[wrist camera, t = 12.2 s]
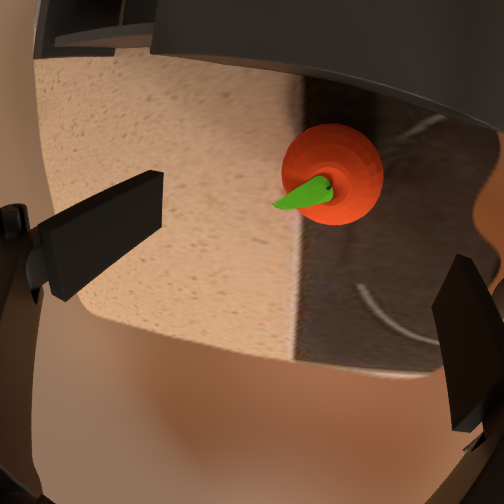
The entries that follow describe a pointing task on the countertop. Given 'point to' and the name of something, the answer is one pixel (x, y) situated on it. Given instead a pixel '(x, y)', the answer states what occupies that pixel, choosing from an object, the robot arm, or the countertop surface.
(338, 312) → the countertop surface
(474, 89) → the dark drawer cabinet
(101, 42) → the open grey drawer
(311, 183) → the clementine
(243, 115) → the countertop surface
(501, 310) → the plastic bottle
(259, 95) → the countertop surface
